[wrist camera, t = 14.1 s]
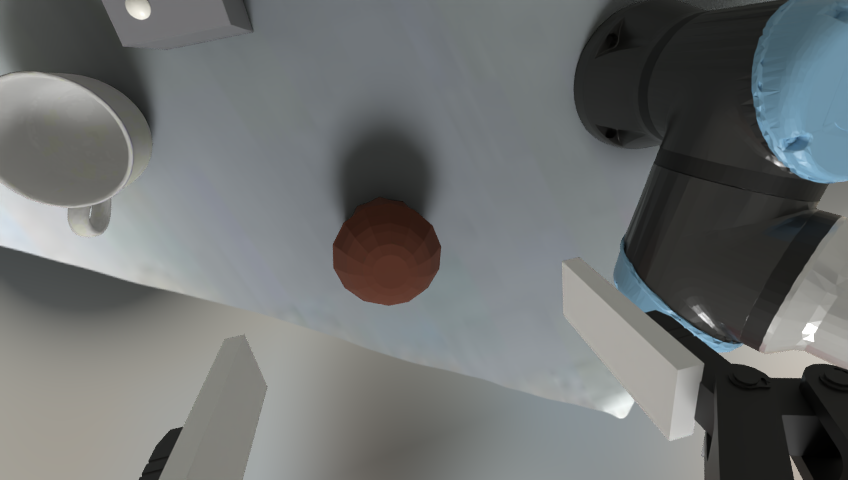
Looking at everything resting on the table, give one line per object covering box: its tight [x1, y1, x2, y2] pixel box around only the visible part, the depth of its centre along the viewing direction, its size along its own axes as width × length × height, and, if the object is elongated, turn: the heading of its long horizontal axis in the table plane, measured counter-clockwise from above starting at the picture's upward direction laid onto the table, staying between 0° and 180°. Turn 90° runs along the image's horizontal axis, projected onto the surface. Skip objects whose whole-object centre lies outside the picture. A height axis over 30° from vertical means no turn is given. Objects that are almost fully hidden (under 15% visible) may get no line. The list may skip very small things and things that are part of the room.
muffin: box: [333, 197, 441, 306], centre depth 44 cm, size 12×11×10 cm
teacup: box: [0, 71, 152, 237], centre depth 36 cm, size 14×11×8 cm
